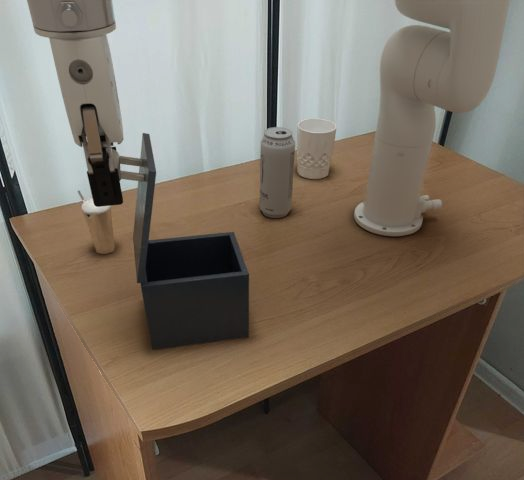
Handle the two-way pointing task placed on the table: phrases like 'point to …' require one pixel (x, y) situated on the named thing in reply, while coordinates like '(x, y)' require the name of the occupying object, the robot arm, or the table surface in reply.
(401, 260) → the table surface
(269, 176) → the energy drink can
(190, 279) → the bin
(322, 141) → the white cup
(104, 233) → the milkshake
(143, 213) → the lid
